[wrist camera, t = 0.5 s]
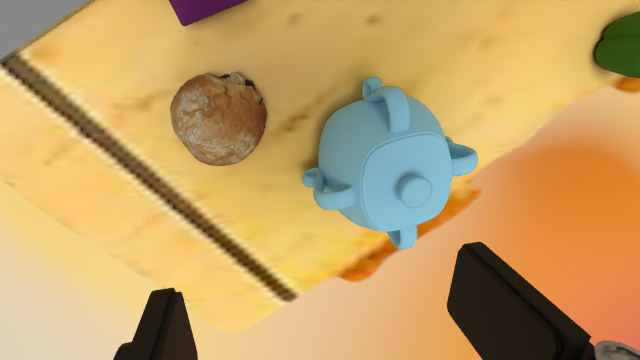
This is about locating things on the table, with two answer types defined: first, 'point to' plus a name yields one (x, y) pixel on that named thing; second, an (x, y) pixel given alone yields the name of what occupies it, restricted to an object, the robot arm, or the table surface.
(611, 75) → the table surface
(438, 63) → the table surface
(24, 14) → the slate tile
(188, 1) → the perfume bottle
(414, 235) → the decorative pot
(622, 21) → the bell pepper
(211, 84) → the bread roll
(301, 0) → the table surface
